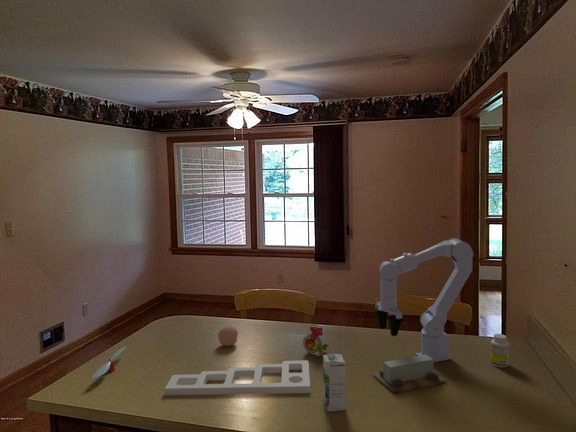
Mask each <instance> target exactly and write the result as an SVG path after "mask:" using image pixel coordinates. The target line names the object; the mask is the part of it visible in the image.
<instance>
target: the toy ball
mask: <svg viewBox="0 0 576 432" xmlns="http://www.w3.org/2000/svg"><path fill="white" fill-rule="evenodd" d="M238 334H239V332H238V329H237V328H236V327H235V326H233V325H225V326H223V327H222V328H221V329H220V330H219V331H218V334H217V336H218V337H217V339H218V342H219V343H220V344H221V345H223V346H225V347H232V346H233V345H235V344H236V343H237V341H238Z"/></svg>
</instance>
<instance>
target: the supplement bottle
mask: <svg viewBox="0 0 576 432" xmlns="http://www.w3.org/2000/svg"><path fill="white" fill-rule="evenodd" d="M507 340H508V339H507V335H504V334H501V333H495V334H493V338H492V340H490V363H491V364H492V365H493V366H495V367H498V368H507V367H508V366H509V361H510V360H509V359H510V342H508V341H507Z"/></svg>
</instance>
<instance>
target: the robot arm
mask: <svg viewBox="0 0 576 432" xmlns="http://www.w3.org/2000/svg"><path fill="white" fill-rule="evenodd" d="M440 256H441V257H447V258H451V259H452V262H453V264H454V269H453V271H452V273H451V275H450V276H449V278H448V279H447V281H446V283H445V285H444V286H443V287H442V290H441V291H440V293H439V295H438V296H437V298H436V300H435V301H434V303H433V305H430V306H429V307H428V308H427V310H426V311H424V312H423V313H422V314H421V315H420V318H419V321H420V324H421V325H422V329H421V331H420V351H419V352H416V353H415V356H420V355H425V354H426V355H427V356H429V357H431V358H432V359H433V363H437V362H438V363H439V362H442V361H448V360H452V357H451V356H450V350H451V349H450V348H451V347H450V346H451V343H450V341H451V339H450V337H449V335H448V334H447V333H446V332H445V324H446V322H447V321H448V320H447V319H448V318H447V317H448V316H447V315H448V312H449V310H450V309H451V307H452V305H454V302H455V300H456V299H457V297H458V295H459V294H460V292H461V290H462V288H463V287H464V285H465V283H466V282H467V280H468V279H469V277H470V276H471V273H472V272H473V257H474V251H473V250H472V247H471V245H469V243H468V242H466V241H463V240H461V239H459V238H458V237H457V238H455V237H454V238H453V237H452V238H450V239H448V240H443V241H442V242H441V241H440V242H439V243H436V244H435V245H433V246H431V247H428V248H426V249H424V250H422V251H420V252H417V253H415V254H413V253H411V252H409V253H407V252H403V253H402V255H401V256H399V257H397V258H391V259H390V261H387V260H386V261H383V262H382V263H381V264H380V266H379V268H378V272H379V273H380V282H379V286H380V287H379V288H380V289H379V290H380V292H379V293H380V294H379V295H380V296H379V297H380V299H379V301H376V302H375V307H376V308H374V309H373V312H374V314H375V315H376V318H377V321H378V327H379V329H381V330H385V329H387V325H388V323H389V329H390V336H391V337H398V334H399V330H400V327H401V325H402V322H403V321H404V320H405V318H404V316H403V313H402V312H401V311H400V310H399V308H398V306H397V304H398V303H397V299H398V298H397V296H398V293H397V291H398V290H397V286H398V285H397V278H398V276H399V275H402V274H404V273H407V272H410V271H412V270H414V269H417V268H418V265H419V264H420V263H423V262H426V261H429V260H431V259H435V258H437V257H440ZM389 314H390V316H388V315H389ZM387 322H388V323H387Z"/></svg>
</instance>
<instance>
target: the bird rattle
mask: <svg viewBox="0 0 576 432" xmlns="http://www.w3.org/2000/svg"><path fill="white" fill-rule="evenodd" d="M309 330H310V333H308V334H306V335H305V336H304V337H303V339H302V346H303V348H304V350H305V351H306V352H307V355H309V354H316V353H319V354H318V355H319V357H323V355H324V351H327V348H328V347H329V344H327V343H324V344H322V339H321V338H320V337H321V336H323V335H324V334H323V330H324V329H323V327H316V326H309Z"/></svg>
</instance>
